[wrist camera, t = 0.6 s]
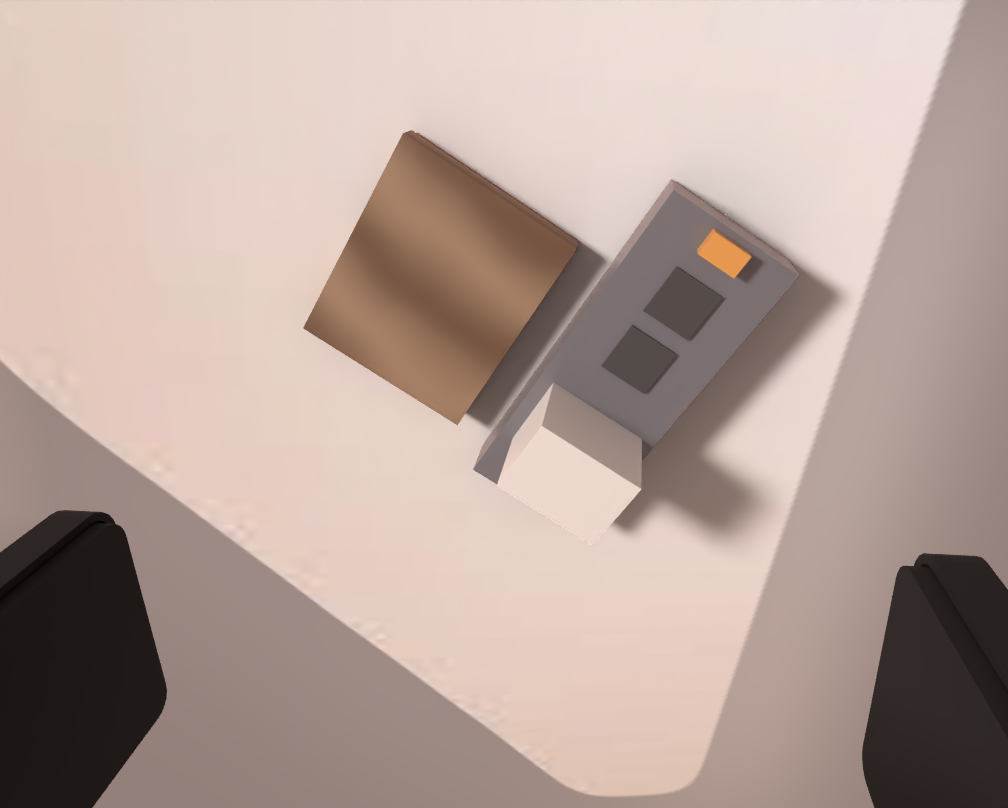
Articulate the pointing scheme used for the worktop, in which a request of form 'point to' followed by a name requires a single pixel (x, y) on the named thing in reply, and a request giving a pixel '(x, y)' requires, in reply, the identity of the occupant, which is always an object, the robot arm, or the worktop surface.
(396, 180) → the pad
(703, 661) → the worktop surface
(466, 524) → the worktop surface
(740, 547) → the worktop surface
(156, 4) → the worktop surface
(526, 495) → the block
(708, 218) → the power strip
